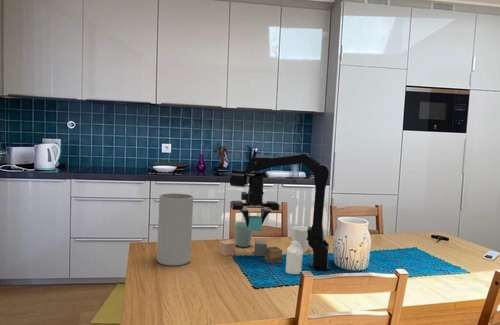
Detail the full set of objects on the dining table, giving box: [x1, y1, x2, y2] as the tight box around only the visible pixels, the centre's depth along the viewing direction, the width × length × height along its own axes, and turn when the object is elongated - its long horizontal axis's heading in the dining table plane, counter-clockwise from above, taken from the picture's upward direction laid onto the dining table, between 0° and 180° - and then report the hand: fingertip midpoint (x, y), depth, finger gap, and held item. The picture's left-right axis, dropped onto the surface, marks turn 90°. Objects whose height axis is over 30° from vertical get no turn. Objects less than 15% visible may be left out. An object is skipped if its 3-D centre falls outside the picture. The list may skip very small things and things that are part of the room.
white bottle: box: [285, 241, 304, 275], centre depth 146 cm, size 6×12×6 cm
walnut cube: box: [264, 246, 283, 264], centre depth 158 cm, size 5×5×5 cm
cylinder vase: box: [156, 192, 194, 267], centre depth 150 cm, size 12×12×25 cm
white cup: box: [291, 225, 309, 254], centre depth 174 cm, size 8×8×10 cm
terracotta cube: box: [218, 239, 237, 257], centre depth 164 cm, size 5×5×5 cm
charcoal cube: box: [253, 240, 268, 257], centre depth 166 cm, size 5×5×5 cm
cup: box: [234, 221, 253, 248], centre depth 176 cm, size 8×8×10 cm
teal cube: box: [246, 215, 263, 232], centre depth 158 cm, size 5×5×5 cm
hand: (253, 226), depth 158 cm, fingers closed on teal cube, 5 cm apart
